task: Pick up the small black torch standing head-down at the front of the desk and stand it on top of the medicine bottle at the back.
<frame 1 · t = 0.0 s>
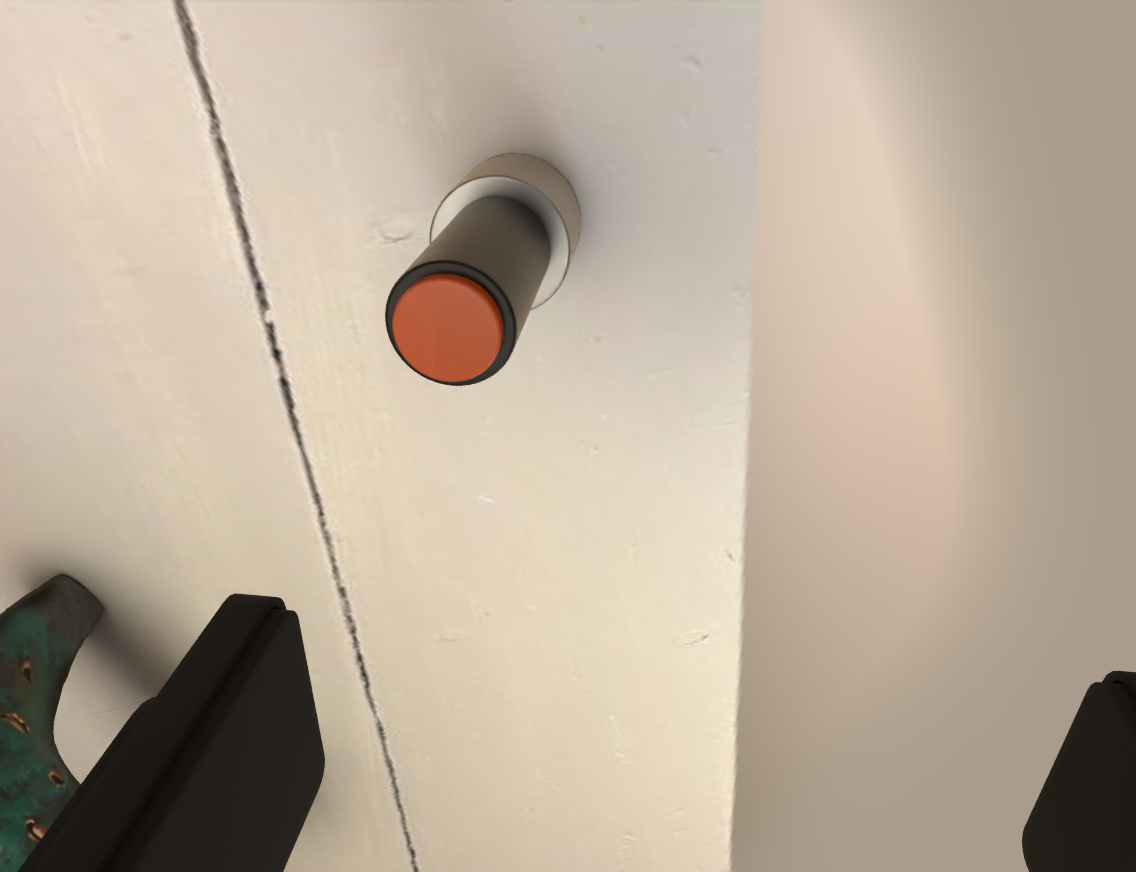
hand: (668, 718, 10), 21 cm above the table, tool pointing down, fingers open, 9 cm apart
torch: (517, 219, 28), on the table
ceramic cat: (183, 702, 42), on the table
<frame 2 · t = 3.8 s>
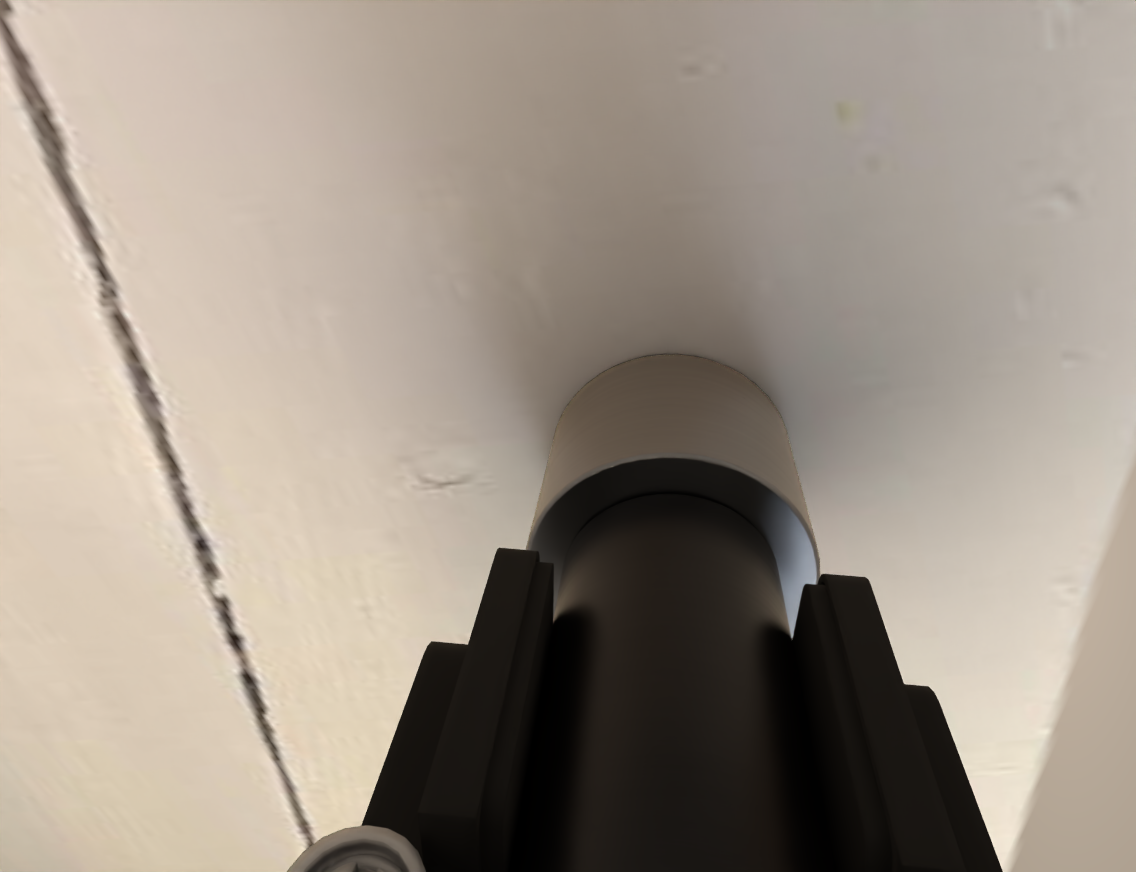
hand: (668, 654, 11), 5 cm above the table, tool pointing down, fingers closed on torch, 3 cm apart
torch: (668, 461, 15), on the table, touching gripper
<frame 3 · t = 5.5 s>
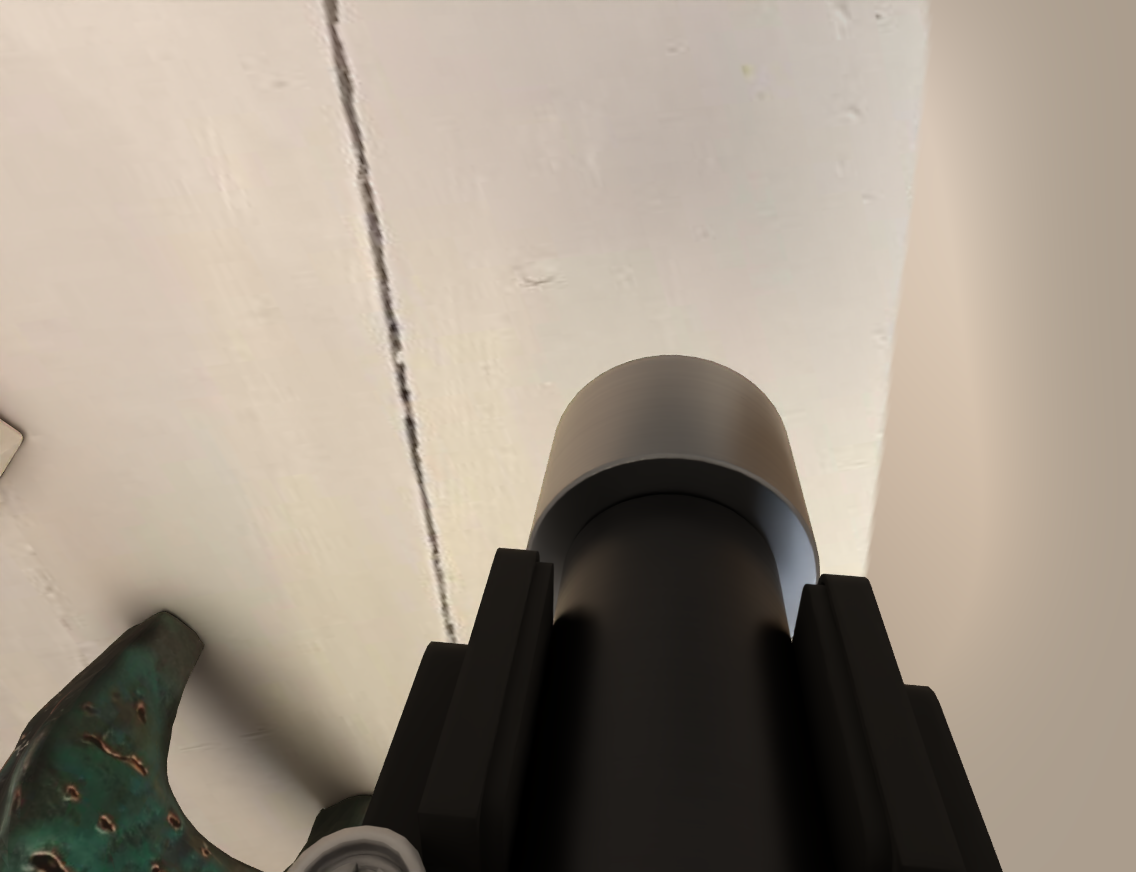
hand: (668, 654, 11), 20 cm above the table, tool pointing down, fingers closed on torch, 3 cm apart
torch: (668, 461, 15), point 14 cm above the table, touching gripper
ceramic cat: (276, 737, 42), on the table
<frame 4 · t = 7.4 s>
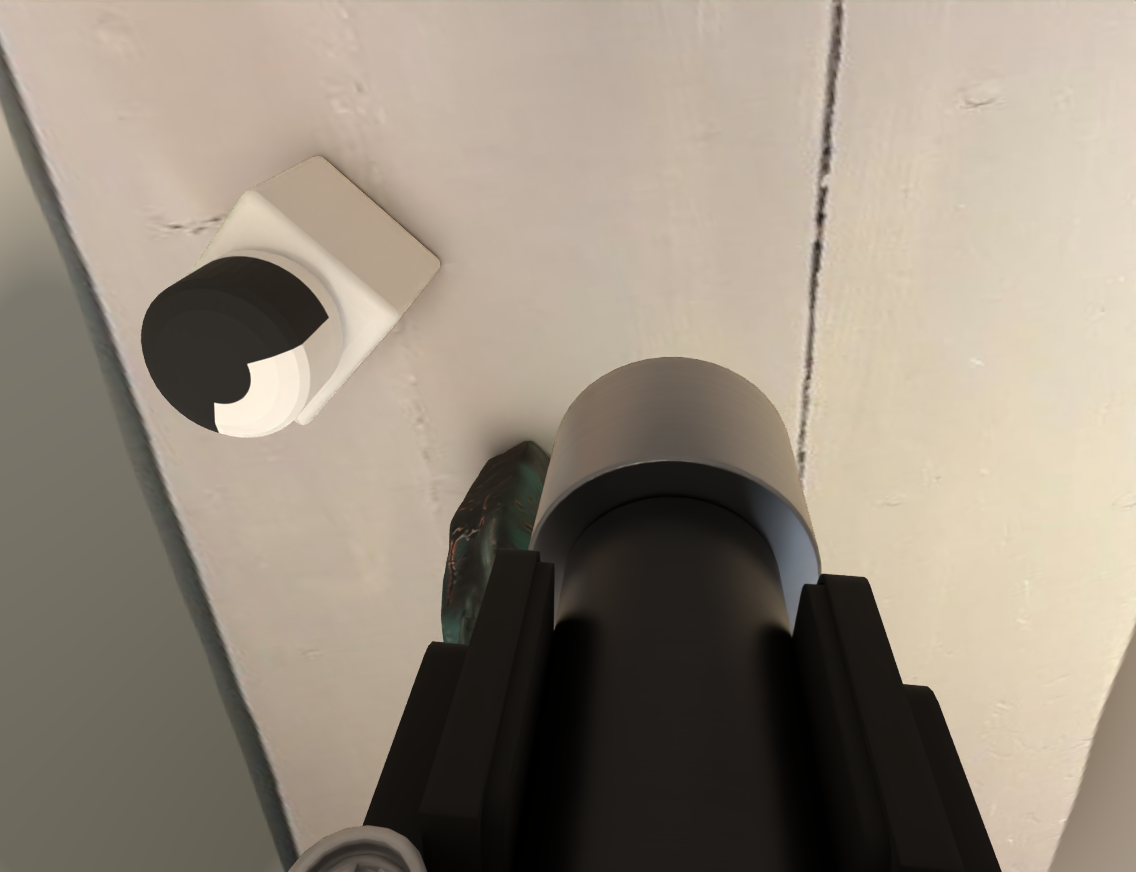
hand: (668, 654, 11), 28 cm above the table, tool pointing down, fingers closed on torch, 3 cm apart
torch: (670, 463, 15), point 23 cm above the table, touching gripper
medicine bottle: (341, 261, 38), on the table
ceramic cat: (600, 571, 46), on the table
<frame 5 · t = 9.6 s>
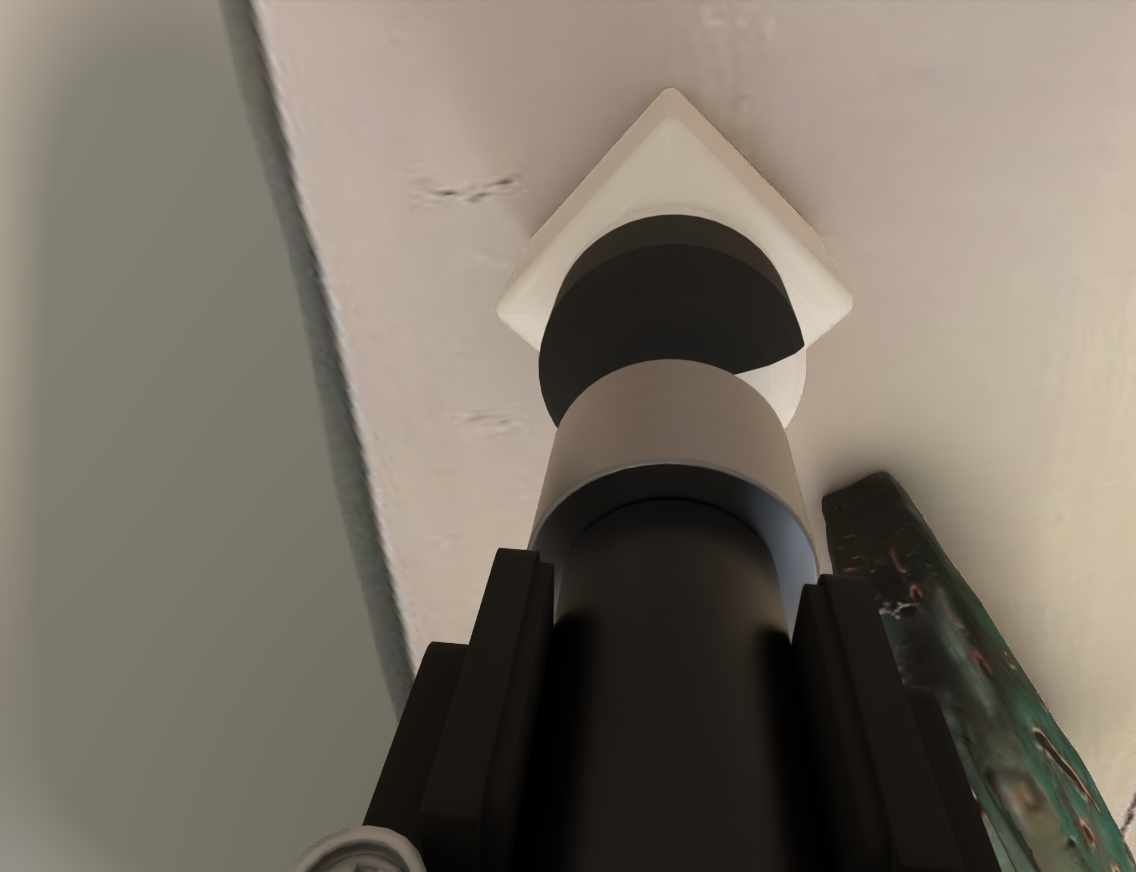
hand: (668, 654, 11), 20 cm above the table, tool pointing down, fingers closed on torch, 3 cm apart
torch: (668, 465, 15), point 15 cm above the table, touching gripper
medicine bottle: (669, 236, 28), on the table
ceramic cat: (937, 635, 36), on the table
when the fingers open (17 cm above the table, at t = 11.0 s): torch stays where it is, resting on medicine bottle.
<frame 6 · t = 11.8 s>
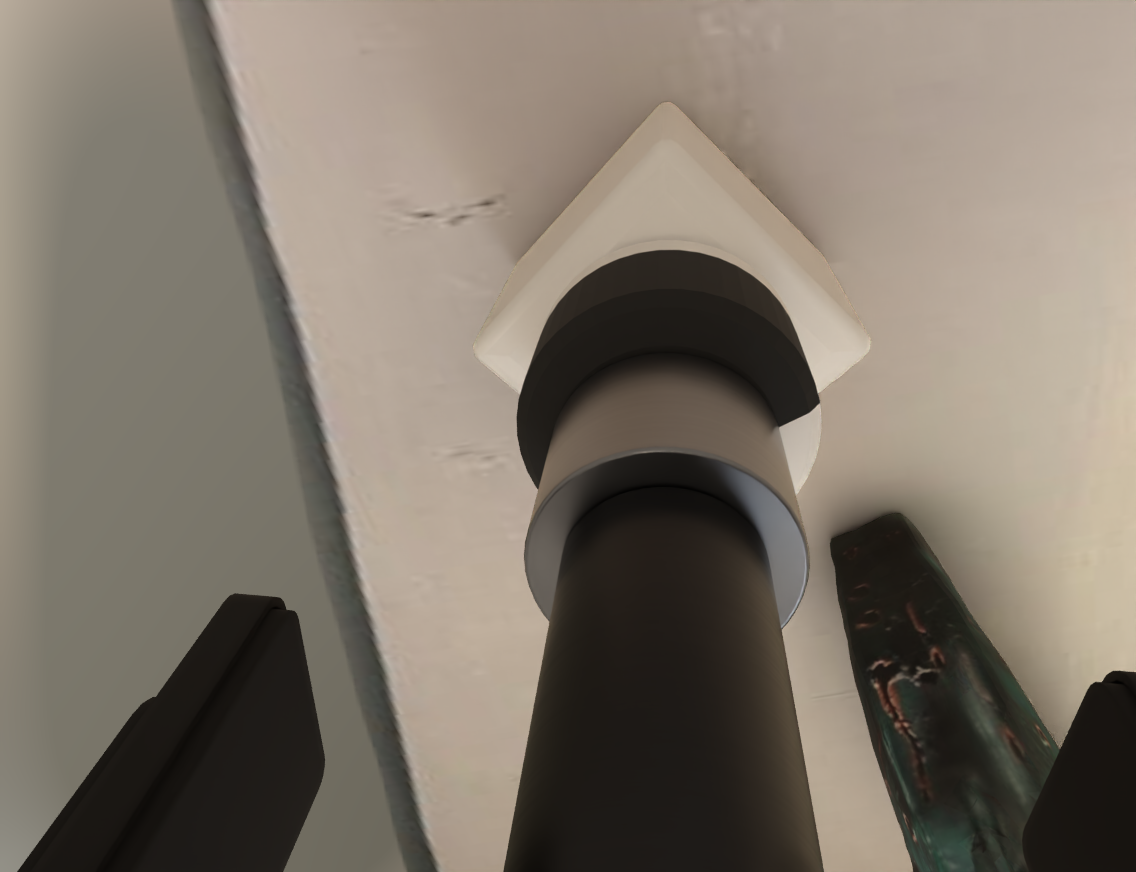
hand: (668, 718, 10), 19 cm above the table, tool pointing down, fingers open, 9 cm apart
torch: (664, 457, 16), point 12 cm above the table, touching medicine bottle
medicine bottle: (666, 262, 26), on the table, touching torch
ceramic cat: (952, 682, 33), on the table
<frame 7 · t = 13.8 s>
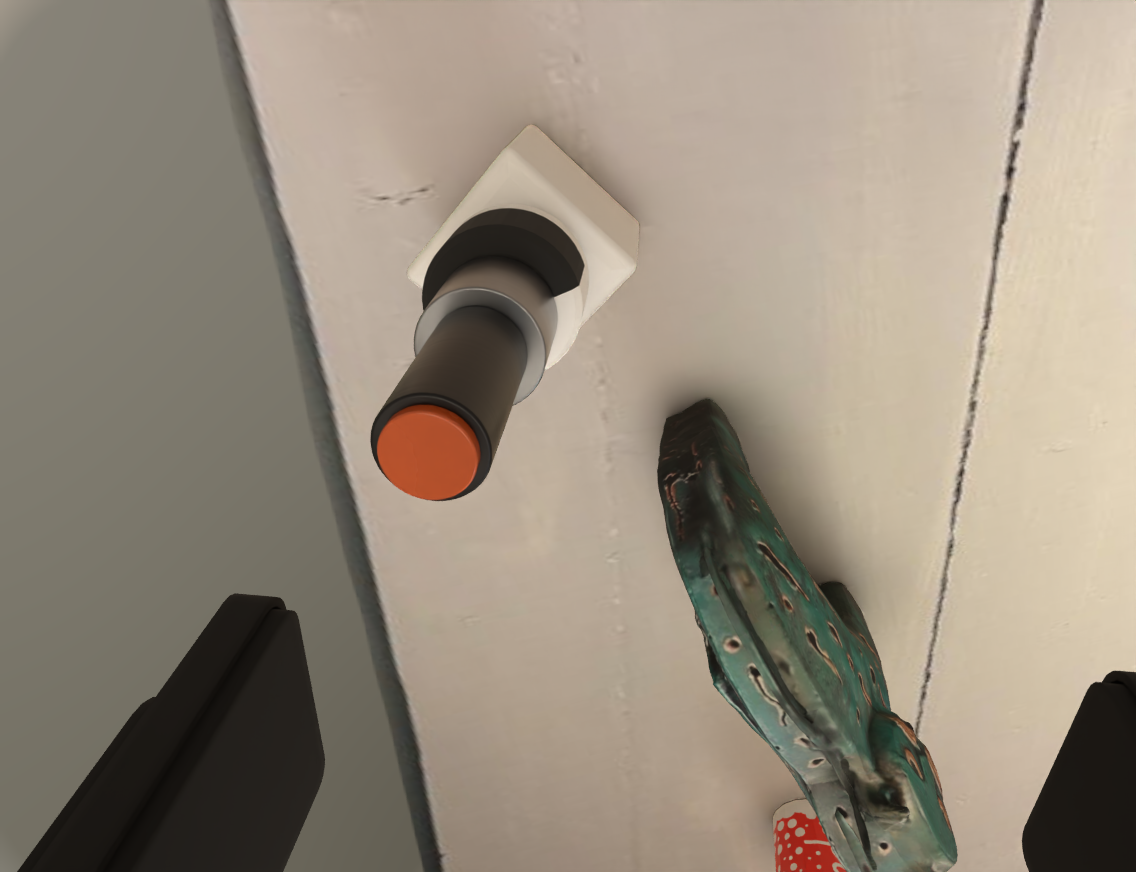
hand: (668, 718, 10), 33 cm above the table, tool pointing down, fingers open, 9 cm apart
beverage cup: (804, 818, 59), on the table
torch: (498, 315, 30), point 12 cm above the table, touching medicine bottle
medicine bottle: (541, 227, 40), on the table, touching torch
ceramic cat: (764, 527, 47), on the table
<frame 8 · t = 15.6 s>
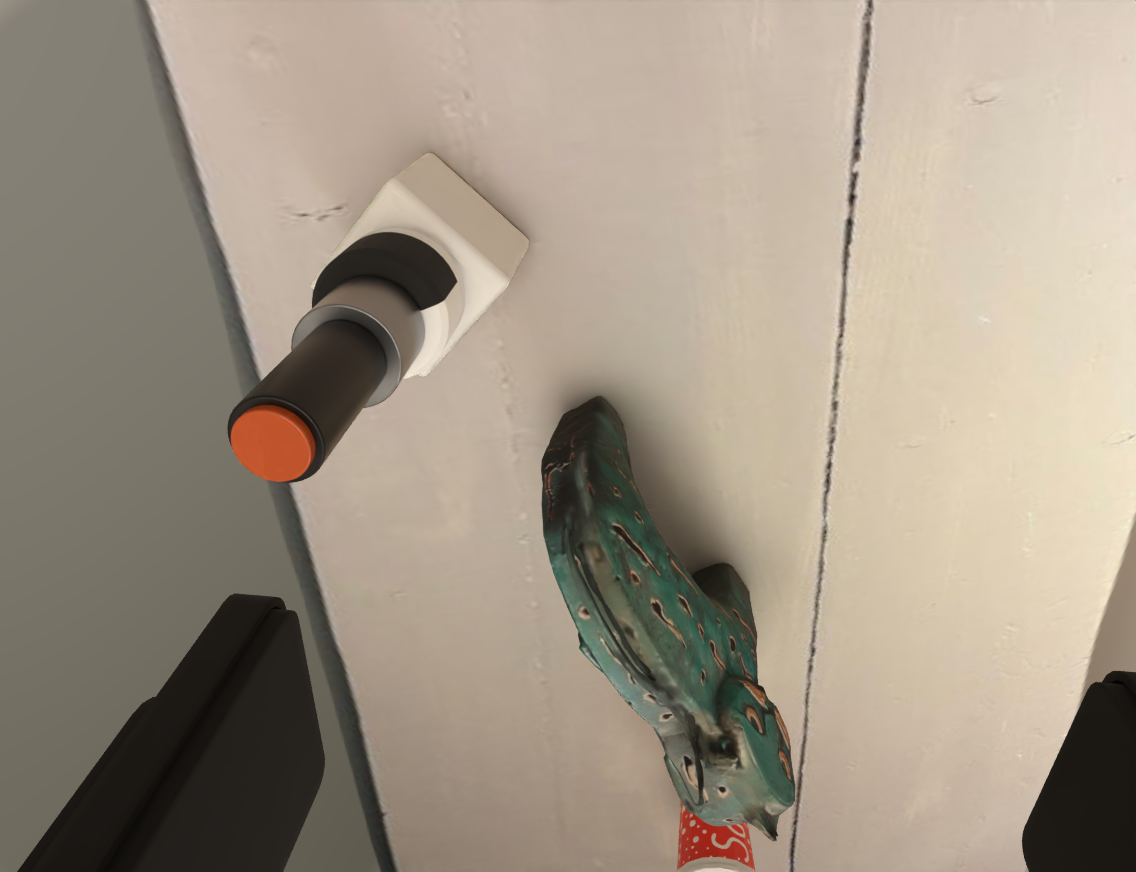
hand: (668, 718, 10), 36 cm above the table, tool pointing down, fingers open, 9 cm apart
beverage cup: (711, 781, 64), on the table
torch: (374, 325, 34), point 12 cm above the table, touching medicine bottle
medicine bottle: (443, 242, 45), on the table, touching torch
ceramic cat: (657, 513, 52), on the table
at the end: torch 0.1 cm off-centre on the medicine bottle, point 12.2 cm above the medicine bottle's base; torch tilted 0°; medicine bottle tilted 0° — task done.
